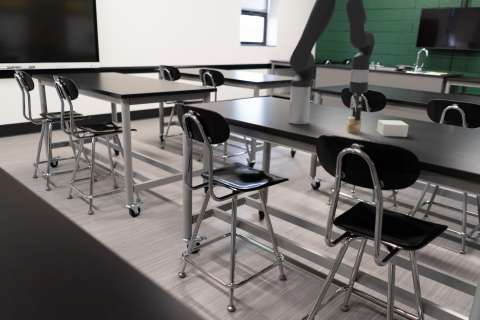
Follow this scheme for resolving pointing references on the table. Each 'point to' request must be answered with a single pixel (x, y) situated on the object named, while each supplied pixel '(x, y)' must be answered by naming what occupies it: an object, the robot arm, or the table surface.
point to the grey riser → (392, 128)
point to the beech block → (353, 125)
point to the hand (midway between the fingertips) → (356, 118)
